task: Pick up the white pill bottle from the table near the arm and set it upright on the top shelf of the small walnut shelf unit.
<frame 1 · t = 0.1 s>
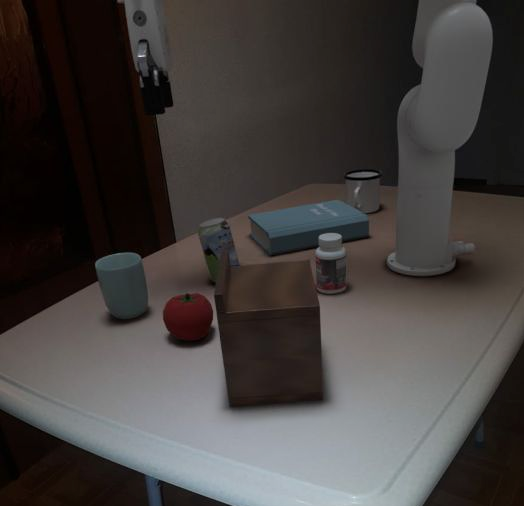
hand: (160, 110, 93), 31 cm above the table, tool pointing down, fingers open, 9 cm apart
beverage can: (223, 281, 108), on the table
mug: (361, 211, 141), on the table
book: (307, 238, 127), on the table
pill bottle: (331, 289, 100), on the table
cup: (130, 315, 98), on the table
shelf: (274, 372, 77), on the table
tomato: (191, 336, 89), on the table
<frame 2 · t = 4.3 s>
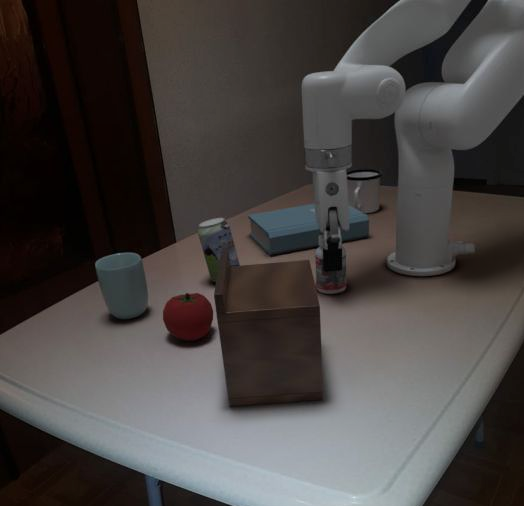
hand: (330, 263, 98), 5 cm above the table, tool pointing down, fingers closed on pill bottle, 5 cm apart
pill bottle: (331, 289, 100), on the table, touching gripper
everything else where it was.
when the fingers open (18 cm above the table, at t = 10.5 s): pill bottle stays where it is, resting on shelf.
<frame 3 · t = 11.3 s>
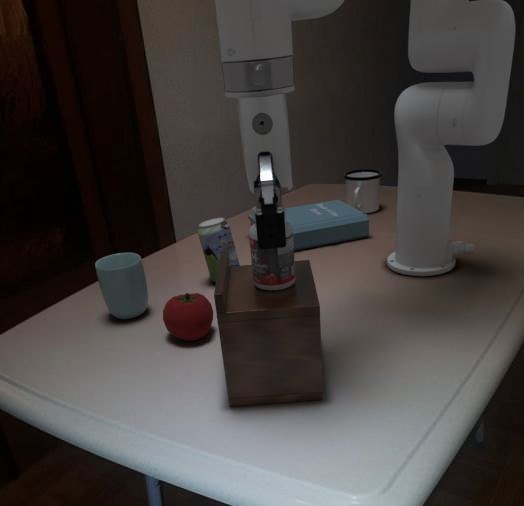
hand: (271, 234, 68), 20 cm above the table, tool pointing down, fingers open, 9 cm apart
pill bottle: (274, 284, 71), point 13 cm above the table, touching shelf
everything else where it was.
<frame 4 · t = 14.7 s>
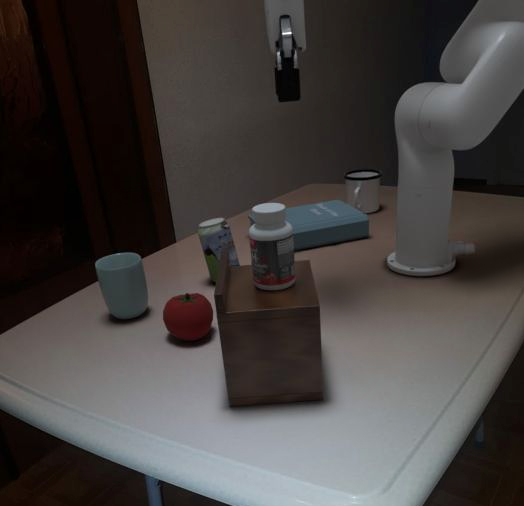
hand: (287, 97, 83), 32 cm above the table, tool pointing down, fingers open, 9 cm apart
nothing on the table moved.
at the end: pill bottle inside the target area on the shelf (1.0 cm from its centre), point 13.0 cm above the shelf's base; pill bottle tilted 0°; the gripper is holding nothing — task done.
